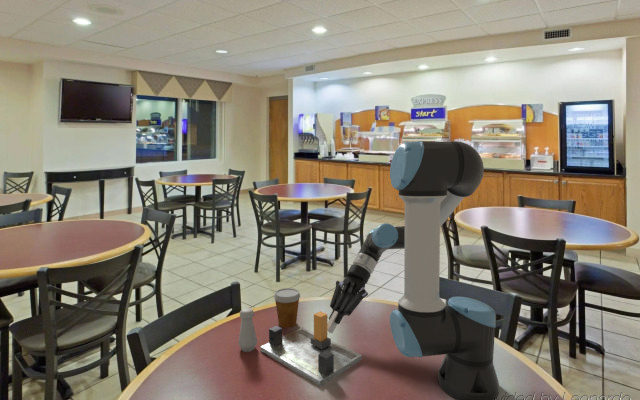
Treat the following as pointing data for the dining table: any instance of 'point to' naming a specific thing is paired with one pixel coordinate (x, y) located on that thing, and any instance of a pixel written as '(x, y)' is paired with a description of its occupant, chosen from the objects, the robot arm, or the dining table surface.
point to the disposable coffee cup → (287, 306)
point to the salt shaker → (247, 331)
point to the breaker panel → (309, 355)
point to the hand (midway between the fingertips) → (328, 331)
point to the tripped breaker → (320, 331)
